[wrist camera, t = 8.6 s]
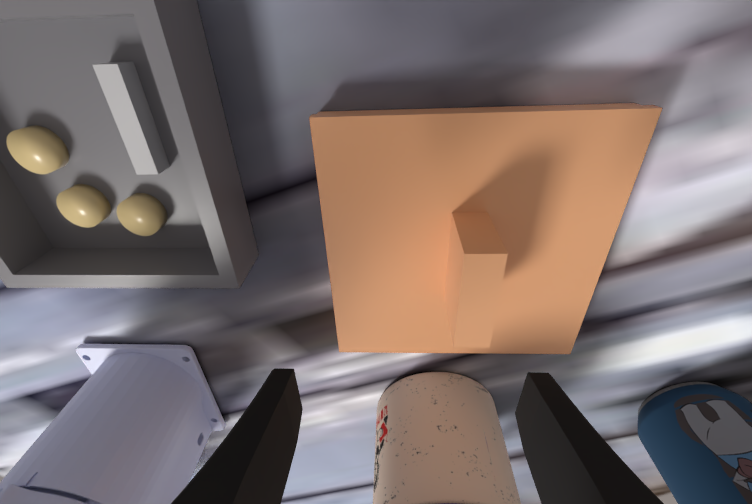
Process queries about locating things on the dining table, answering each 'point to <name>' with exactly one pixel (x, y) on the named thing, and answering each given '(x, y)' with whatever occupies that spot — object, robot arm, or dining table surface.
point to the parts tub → (115, 150)
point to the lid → (472, 221)
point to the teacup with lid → (440, 444)
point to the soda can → (700, 442)
